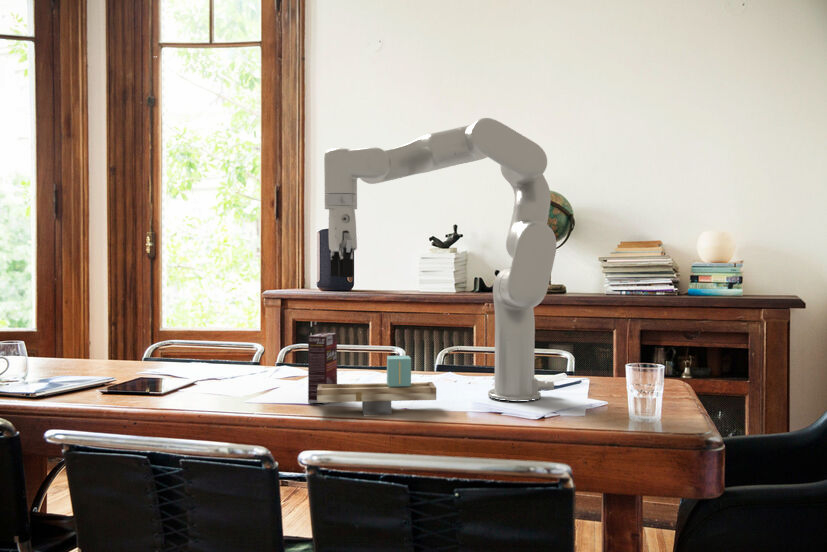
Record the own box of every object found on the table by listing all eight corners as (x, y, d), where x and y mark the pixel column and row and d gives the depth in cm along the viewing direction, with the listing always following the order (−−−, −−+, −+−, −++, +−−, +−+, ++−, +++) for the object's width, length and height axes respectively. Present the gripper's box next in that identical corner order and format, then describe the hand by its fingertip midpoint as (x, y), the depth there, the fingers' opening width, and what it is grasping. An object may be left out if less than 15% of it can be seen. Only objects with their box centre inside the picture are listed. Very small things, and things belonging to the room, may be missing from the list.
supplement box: (327, 404, 163) (326, 336, 163) (307, 403, 164) (306, 336, 163) (338, 397, 171) (337, 332, 171) (319, 396, 172) (318, 332, 172)
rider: (408, 388, 159) (408, 355, 159) (411, 392, 154) (411, 359, 154) (386, 388, 159) (386, 355, 158) (388, 392, 154) (388, 359, 153)
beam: (431, 405, 162) (431, 381, 162) (436, 414, 153) (437, 388, 153) (318, 408, 159) (318, 383, 159) (317, 417, 150) (316, 390, 150)
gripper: (365, 200, 155) (366, 277, 156) (348, 205, 172) (348, 275, 172) (332, 199, 153) (332, 277, 153) (318, 205, 169) (318, 275, 170)
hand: (341, 276), depth 163 cm, fingers open, 9 cm apart
